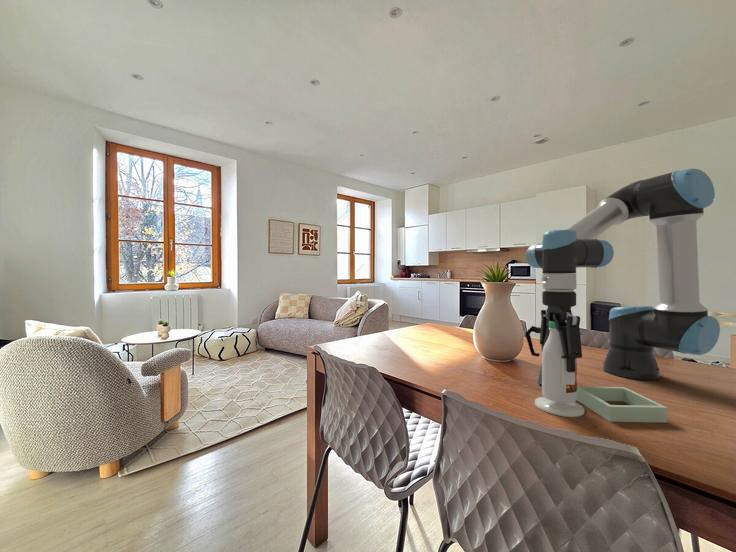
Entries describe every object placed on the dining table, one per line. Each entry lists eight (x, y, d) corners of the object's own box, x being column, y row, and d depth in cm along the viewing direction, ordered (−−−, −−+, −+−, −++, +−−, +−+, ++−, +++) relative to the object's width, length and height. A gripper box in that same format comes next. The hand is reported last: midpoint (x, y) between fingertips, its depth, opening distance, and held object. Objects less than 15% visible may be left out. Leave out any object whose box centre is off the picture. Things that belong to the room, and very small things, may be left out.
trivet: (568, 399, 87) (568, 397, 87) (594, 417, 76) (595, 415, 76) (527, 398, 87) (527, 396, 87) (548, 416, 76) (548, 414, 76)
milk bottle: (555, 405, 77) (554, 324, 77) (535, 393, 85) (535, 319, 85) (584, 403, 78) (584, 323, 78) (562, 392, 86) (562, 318, 85)
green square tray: (624, 399, 86) (624, 387, 86) (667, 422, 73) (667, 407, 73) (575, 399, 86) (575, 386, 86) (609, 421, 74) (609, 406, 73)
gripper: (525, 288, 91) (526, 366, 92) (567, 293, 71) (567, 393, 71) (552, 288, 91) (552, 366, 91) (601, 292, 71) (601, 393, 71)
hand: (558, 378), depth 81 cm, fingers closed on milk bottle, 7 cm apart
